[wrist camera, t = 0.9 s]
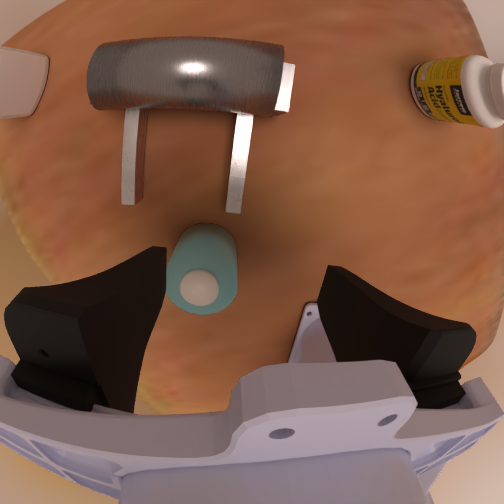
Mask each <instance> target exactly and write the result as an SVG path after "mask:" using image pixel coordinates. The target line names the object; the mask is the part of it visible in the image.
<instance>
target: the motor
mask: <svg viewBox="0 0 504 504" xmlns="http://www.w3.org/2000/svg"><path fill="white" fill-rule="evenodd" d="M294 70H295V65H294V64H289V63H284V46H283V45H278V44H272V43H266V42H259V41H251V40H242V39H232V38H219V37H191V36H181V37H153V38H140V39H130V40H122V41H114V42H108V43H103V44H101V45H100V46H99V47H98V48H97V49H96V50H95V52H94V53H93V55H92V57H91V60H90V63H89V66H88V71H87V92H88V96H89V99H90V104H92V105H93V107H94V108H95V109H97V110H100V111H101V110H116V109H126V113H125V123H124V136H123V153H122V204H126V205H135V204H136V203H137V202H139V201H140V200H141V199H142V198H143V178H144V157H145V142H146V130H147V119H148V110H149V108H165V109H195V110H211V111H223V112H233V113H237V120H236V127H235V135H234V143H233V151H232V159H231V167H230V176H229V184H228V193H227V202H226V212H228V213H238V214H240V213H241V205H242V197H243V189H244V182H245V174H246V166H247V159H248V151H249V144H250V136H251V129H252V122H253V115H259V116H266V117H271V116H272V115H280V114H284V113H287V112H289V105H290V98H291V91H292V84H293V77H294Z"/></svg>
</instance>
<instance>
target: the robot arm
mask: <svg viewBox="0 0 504 504" xmlns="http://www.w3.org/2000/svg"><path fill="white" fill-rule="evenodd" d="M166 254H167V248H165V247H156V246H152V247H150V248H148V249H146V250H144V251H142V252H141V253H139V254H137V255H135V256H134V257H132V258H130V259H128V260H126V261H124V262H122V263H120V264H118V265H116V266H114V267H113V268H110V269H108V270H106V271H104V272H101V273H98V274H96V275H93V276H90V277H87V278H83V279H79V280H76V281H72V282H68V283H63V284H57V285H51V286H40V287H25V288H23V289H22V290H21V291H20V293H19V294H18V295H17V296H16V297H15V298H14V299H13V300H12V301H11V303H10V304H9V305H8V306H7V307H6V308H5V312H4V320H5V326H6V329H7V332H8V334H9V336H10V339H11V341H12V343H13V345H14V347H15V349H16V351H17V353H18V355H19V357H20V361H19V362H18V364H17V365H15V364H14V363H13V362H12V361H11V360H9V359H8V358H5V357H3V356H1V355H0V442H1V443H2V444H4V445H5V446H7V447H8V448H10V449H12V450H13V451H15V452H17V453H18V454H20V455H22V456H23V457H25V458H27V459H29V460H30V461H32V462H34V463H36V464H38V465H39V466H41V467H43V468H45V469H47V470H49V471H51V472H53V473H55V474H57V475H59V476H61V477H63V478H65V479H67V480H70V481H71V482H74V483H76V484H78V485H80V486H83V487H85V488H88V489H90V490H93V491H96V492H98V493H101V494H104V495H107V496H110V497H112V498H115V499H119V504H434V502H433V500H432V497H431V495H430V493H429V490H430V488H431V486H432V485H433V483H434V482H435V480H436V479H437V477H438V476H439V474H440V473H441V471H442V470H443V468H444V466H445V464H446V463H447V461H449V460H450V459H452V458H454V457H456V456H458V455H460V454H461V453H463V452H465V451H466V450H468V449H470V448H471V447H472V446H473V445H474V444H475V443H477V441H479V440H480V439H481V438H482V437H483V436H484V435H485V434H486V433H488V432H489V431H490V430H491V429H492V428H493V427H494V426H495V425H496V424H497V423H498V422H499V421H500V420H501V419H502V418H503V417H504V412H503V411H502V409H501V407H500V406H499V404H498V403H497V401H496V400H495V398H494V397H493V395H492V394H491V392H490V391H489V389H488V388H487V386H486V385H485V383H484V382H483V380H482V379H481V378H480V377H479V378H476V379H473V380H470V381H467V382H466V383H464V384H463V385H462V386H461V385H460V383H459V382H458V380H459V379H461V375H460V373H459V372H458V370H459V369H460V367H461V366H462V365H463V363H464V362H465V360H466V359H467V357H468V356H469V355H470V353H471V351H472V349H473V347H474V345H475V342H476V332H475V331H474V329H473V328H472V327H471V326H470V325H469V324H467V323H463V322H458V321H453V320H449V319H444V318H441V317H438V316H434V315H431V314H428V313H425V312H423V311H420V310H418V309H415V308H413V307H410V306H408V305H406V304H404V303H402V302H400V301H398V300H396V299H394V298H392V297H390V296H388V295H387V294H385V293H383V292H382V291H380V290H378V289H377V288H375V287H374V286H372V285H370V284H369V283H367V282H366V281H364V280H363V279H361V278H360V277H358V276H356V275H355V274H353V273H352V272H350V271H348V270H347V269H345V268H343V267H340V266H331V265H328V267H327V270H326V274H325V277H324V280H323V284H322V287H321V290H320V293H319V296H318V299H317V303H308V304H307V305H305V308H304V311H303V314H302V318H301V321H300V325H299V328H298V331H297V335H296V338H295V341H294V344H293V348H292V351H291V354H290V357H289V360H288V363H281V364H274V365H267V366H262V367H260V368H258V369H256V370H254V371H252V372H250V373H248V374H246V375H244V376H242V377H241V378H240V379H239V381H238V382H237V384H236V385H235V387H234V388H233V389H232V391H231V397H230V403H229V406H228V408H227V410H226V411H218V412H207V413H193V414H173V415H137V414H133V413H134V405H135V398H136V392H137V386H138V381H139V375H140V370H141V366H142V361H143V357H144V353H145V349H146V346H147V343H148V340H149V338H150V335H151V333H152V330H153V327H154V325H155V322H156V320H157V317H158V315H159V312H160V310H161V307H162V304H163V300H164V296H165V292H166ZM308 312H310V313H309V314H307V313H308Z"/></svg>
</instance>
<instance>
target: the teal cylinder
mask: <svg viewBox="0 0 504 504" xmlns="http://www.w3.org/2000/svg"><path fill="white" fill-rule="evenodd" d="M237 289H238V273H237V249H236V244H235V241H234V239H233V237H232V236H231V235H230V233H229V232H228V231H227V230H225V229H224V228H222V227H221V226H218V225H216V224H212V223H199V224H195V225H193V226H191V227H189V228H188V229H186V230H185V231H184V232H183V233H182V235H181V236H180V238H179V240H178V242H177V244H176V247H175V249H174V251H173V253H172V256H171V258H170V260H169V263H168V265H167V267H166V294H167V295H168V297H169V298H170V300H171V301H172V302H173V303H174V304H175V305H176V306H177V307H179V308H181V309H182V310H184V311H186V312H189V313H193V314H198V315H208V314H214V313H217V312H219V311H221V310H223V309H225V308H226V307H227V306H229V305H230V304H231V302H232V301H233V300H234V298H235V296H236V293H237Z"/></svg>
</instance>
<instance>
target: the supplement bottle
mask: <svg viewBox="0 0 504 504" xmlns="http://www.w3.org/2000/svg"><path fill="white" fill-rule="evenodd" d="M411 91H412V95H413V98H414V100H415V102H416V104H417V105H418V107H419V108H420V109H421V111H422V112H423V113H424V114H425V115H427V116H428V117H430V118H432V119H435V120H440V121H448V122H456V123H463V124H470V125H476V126H481V127H487V128H497V127H499V126H501V125H502V124H503V123H504V64H499V63H497V64H493V63H492V62H491V61H490V60H489V59H487V58H485V57H483V56H479V55H470V56H461V57H454V58H447V59H440V60H433V61H428V62H424V63H421V64H419V65H417V66H416V67H415V69H414V70H413V73H412V76H411Z"/></svg>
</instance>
